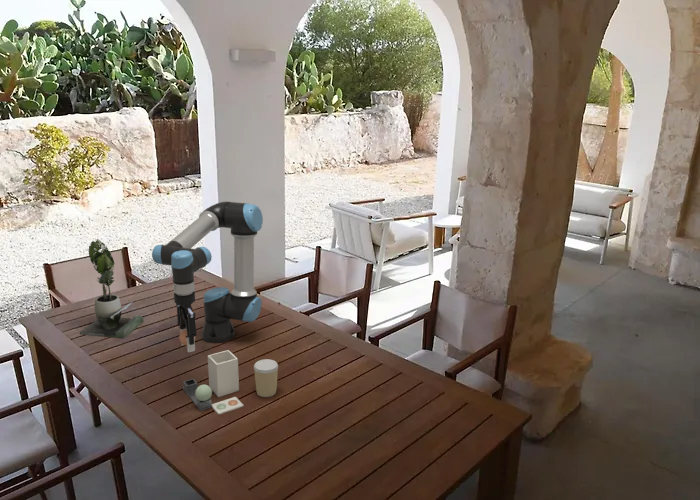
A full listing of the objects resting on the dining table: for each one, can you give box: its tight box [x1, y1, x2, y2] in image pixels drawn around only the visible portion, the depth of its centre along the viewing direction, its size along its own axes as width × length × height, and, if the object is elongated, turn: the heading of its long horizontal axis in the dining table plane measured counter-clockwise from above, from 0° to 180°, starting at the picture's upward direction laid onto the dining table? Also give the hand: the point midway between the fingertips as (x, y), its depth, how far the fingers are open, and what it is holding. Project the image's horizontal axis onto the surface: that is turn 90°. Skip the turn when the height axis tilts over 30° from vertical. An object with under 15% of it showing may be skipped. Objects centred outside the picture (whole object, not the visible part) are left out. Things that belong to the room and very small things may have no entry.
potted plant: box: [79, 238, 144, 339], centre depth 269 cm, size 22×19×45 cm
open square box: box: [207, 349, 240, 398], centre depth 224 cm, size 9×9×14 cm
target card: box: [211, 396, 245, 415], centre depth 215 cm, size 10×7×1 cm
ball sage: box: [195, 384, 213, 401], centre depth 213 cm, size 6×6×6 cm
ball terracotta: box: [178, 330, 197, 346], centre depth 219 cm, size 6×6×6 cm
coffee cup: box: [253, 358, 279, 398], centre depth 223 cm, size 9×9×12 cm
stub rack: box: [182, 378, 213, 412], centre depth 220 cm, size 5×19×3 cm, turn 36°
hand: (188, 347), depth 220 cm, fingers closed on ball terracotta, 6 cm apart
